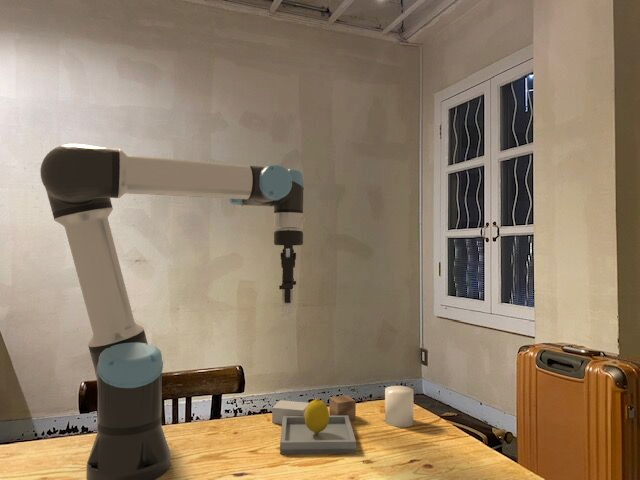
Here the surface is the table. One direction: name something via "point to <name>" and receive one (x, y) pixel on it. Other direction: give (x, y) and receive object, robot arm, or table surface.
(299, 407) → the grey box
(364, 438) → the table surface
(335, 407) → the walnut block
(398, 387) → the cream rounded cylinder
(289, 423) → the dish
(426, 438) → the table surface
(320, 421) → the lemon
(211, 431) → the table surface
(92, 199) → the robot arm
